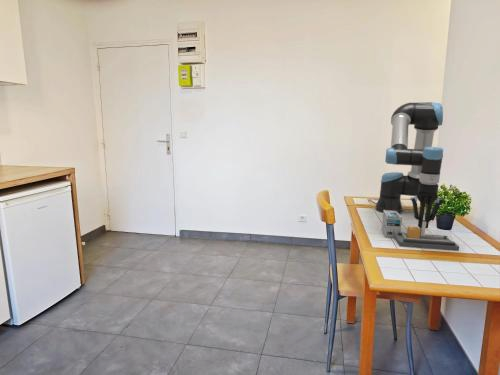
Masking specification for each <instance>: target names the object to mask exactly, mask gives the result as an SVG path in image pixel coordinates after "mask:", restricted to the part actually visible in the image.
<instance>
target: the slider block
mask: <svg viewBox="0 0 500 375" xmlns="http://www.w3.org/2000/svg"><path fill="white" fill-rule="evenodd" d="M406 233H407V238H416V239H419V236H420V228H419V227H418V226H407V231H406Z"/></svg>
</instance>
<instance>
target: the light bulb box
mask: <svg viewBox="0 0 500 375" xmlns="http://www.w3.org/2000/svg"><path fill="white" fill-rule="evenodd" d="M381 222H382V223H381V232H382V233H383V235H384V237H385V238H390V239H391V238H393V239H394V234H398V233H402V232H401V230H402V225H403V224H402V222H403V216H402V214H401V213H398V212H397V211H391V210H383V212H382V219H381Z"/></svg>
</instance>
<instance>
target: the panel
mask: <svg viewBox="0 0 500 375" xmlns="http://www.w3.org/2000/svg"><path fill="white" fill-rule="evenodd" d="M393 239H394V241H395V242H396V244H397V245H398V247H405V248H417V249H431V250H442V251H443V250H444V251H455V252H456V251H457V252H458V251H460V245H458V244H457V243H456V242H455V241H454V240H453V239H451V238H450V237H449V236H448V235H441V234H426V233H425V236H421V235H420V236H419V239H416V238H407V232H401V233H398V234H394V238H393Z"/></svg>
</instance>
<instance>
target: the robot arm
mask: <svg viewBox="0 0 500 375" xmlns="http://www.w3.org/2000/svg"><path fill="white" fill-rule="evenodd" d="M443 120H444V111H443V105H442V103H440V102H433V101H431V102H406V103H404V104H402V105H400V106H399V107H398V108H396V109H395V110H394V111H393V114H392V115H391V118H390V124H391V126H392V130H391V141H390V147H387V148H386V150H385V163H386V164H389V165H396V166H411V168H410V171H408V172H407V175H404V173H403V172H398V171H397V172H396V171H395V172H394V171H392V172H386V173H384V174H382V176H381V180H380V189H379V190H380V191H379V198H378V200H377V201H376V204H375V210H376V211H377V212H380V213H383V210H391V211H397V212H398V213H399V214H401V213H403V205H402V202H401V197H402V196H411V197H410V198H409V199H410V200H411V201H410V202H411V203H412V208H413V209H412V210H413V216H414V219H415V220H417V223H418V224H417V227H418V228H419V229H420V235H421V236H425V234H426V230H427V229H428V228H429V223H430V222H431V221H432V222H433V221H434V220H435V219H436V216H437V213H438V210H439V208H440V206H441V205H442V204H443V203H444V200H443V199H441V198H440V197H439V196H438V192H439V183H440V177H441V176H440V175H441V168H442V163H443V158H444V149H443V148H442V147H438V146H433V142H434V136H435V132H437V130H439V127H440V126H442V125H443V122H444V121H443ZM410 125H413V128H414V130H415V131H416V132H415V133H416V134H415V138H414V139H415V141H414V145H413V148H408V147H409V126H410ZM418 201H419V210H418V203H417V202H418ZM434 202H435V203H434ZM433 203H434V205H433Z"/></svg>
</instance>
